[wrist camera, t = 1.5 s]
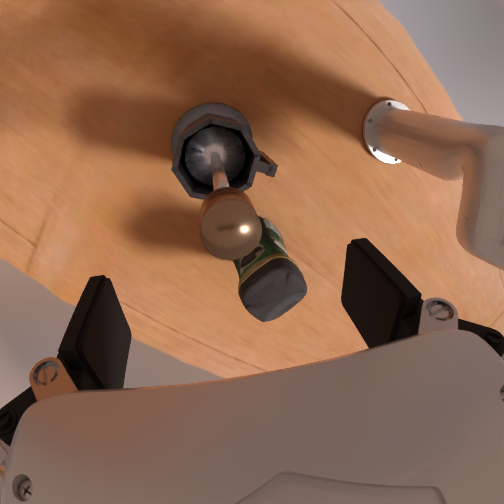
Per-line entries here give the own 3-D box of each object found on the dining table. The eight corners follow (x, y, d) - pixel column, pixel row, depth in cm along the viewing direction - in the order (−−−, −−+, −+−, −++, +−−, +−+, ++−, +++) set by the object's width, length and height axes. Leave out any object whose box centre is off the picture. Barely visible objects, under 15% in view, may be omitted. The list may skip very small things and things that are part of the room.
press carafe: (267, 115, 45) (299, 124, 31) (246, 187, 51) (265, 227, 36) (183, 95, 42) (172, 92, 27) (165, 171, 47) (148, 205, 33)
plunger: (251, 134, 34) (317, 184, 15) (235, 189, 37) (274, 297, 18) (193, 121, 32) (176, 150, 13) (179, 177, 35) (154, 279, 16)
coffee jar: (248, 268, 59) (267, 335, 43) (221, 243, 55) (230, 307, 39) (287, 237, 57) (320, 296, 41) (261, 209, 53) (287, 262, 37)
